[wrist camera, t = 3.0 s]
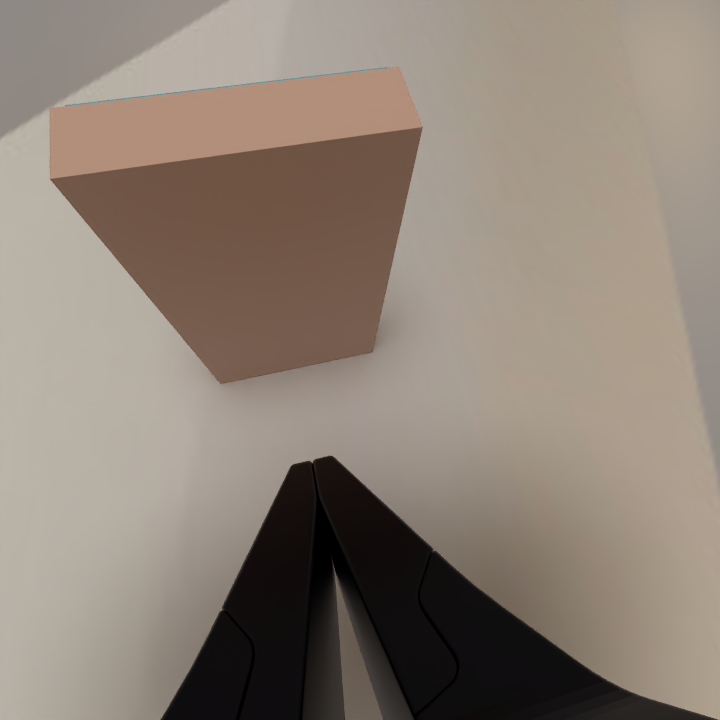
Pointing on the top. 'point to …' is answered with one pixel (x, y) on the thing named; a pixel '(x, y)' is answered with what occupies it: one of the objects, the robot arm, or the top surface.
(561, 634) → the top surface
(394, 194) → the tile
